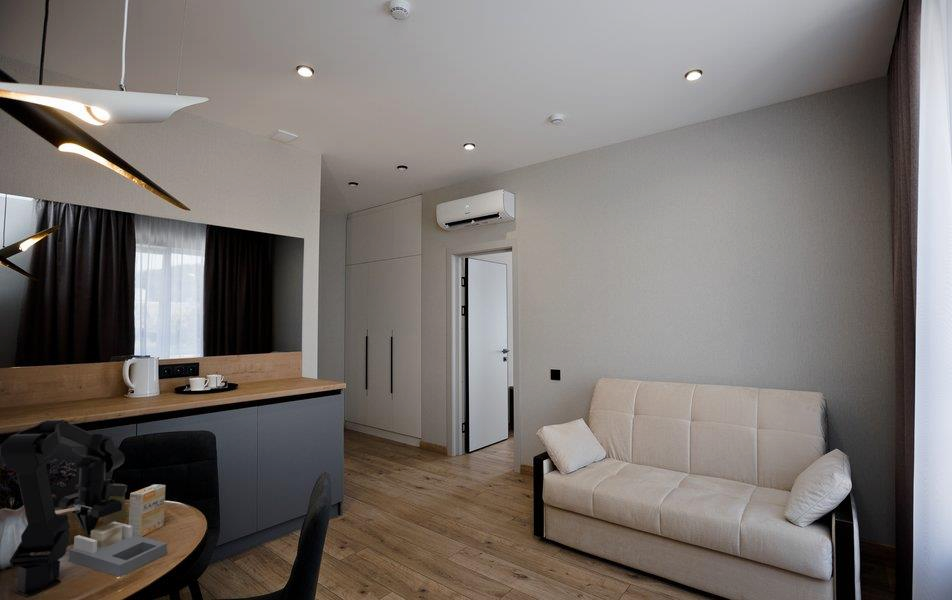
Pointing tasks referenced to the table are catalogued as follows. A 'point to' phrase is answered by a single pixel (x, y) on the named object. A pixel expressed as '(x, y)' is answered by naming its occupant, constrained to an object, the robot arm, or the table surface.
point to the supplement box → (147, 509)
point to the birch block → (107, 535)
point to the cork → (117, 515)
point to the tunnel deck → (117, 552)
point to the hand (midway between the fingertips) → (89, 534)
